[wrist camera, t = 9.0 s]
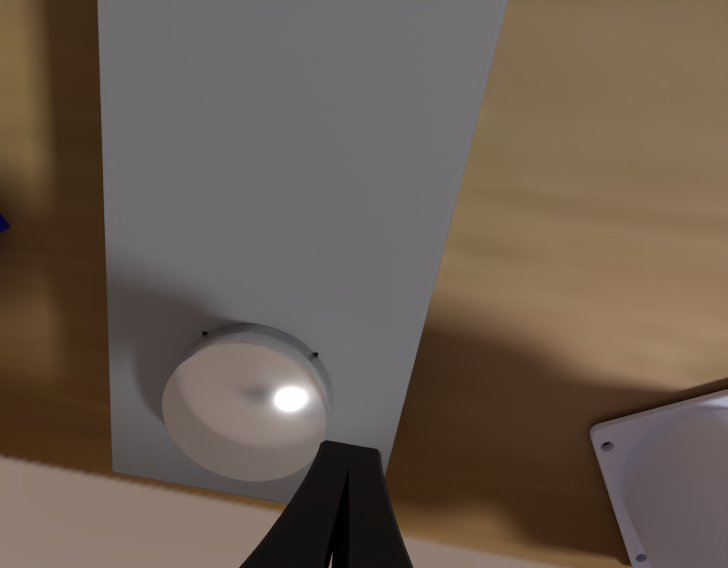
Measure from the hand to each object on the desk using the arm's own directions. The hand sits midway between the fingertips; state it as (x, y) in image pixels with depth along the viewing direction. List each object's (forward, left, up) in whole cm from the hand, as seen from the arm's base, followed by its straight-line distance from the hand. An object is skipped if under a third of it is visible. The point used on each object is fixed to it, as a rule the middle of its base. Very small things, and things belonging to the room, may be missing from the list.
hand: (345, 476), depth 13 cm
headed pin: (0, +4, -9) cm, 10 cm away
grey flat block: (+3, +2, -9) cm, 10 cm away
